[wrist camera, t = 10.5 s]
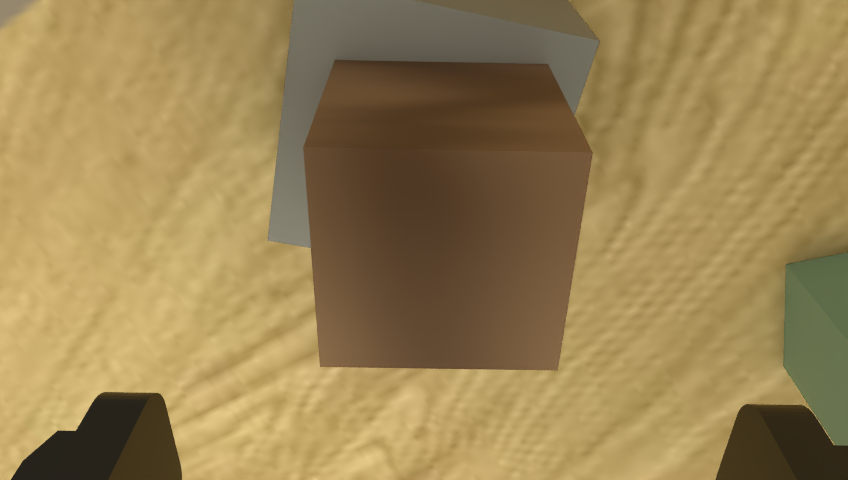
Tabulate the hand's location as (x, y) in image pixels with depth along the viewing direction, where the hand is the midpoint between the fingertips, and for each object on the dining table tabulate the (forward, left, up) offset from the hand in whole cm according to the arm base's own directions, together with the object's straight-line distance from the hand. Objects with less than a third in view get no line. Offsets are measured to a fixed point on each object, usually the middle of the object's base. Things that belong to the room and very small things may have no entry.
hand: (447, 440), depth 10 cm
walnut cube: (0, 0, -9) cm, 9 cm away
